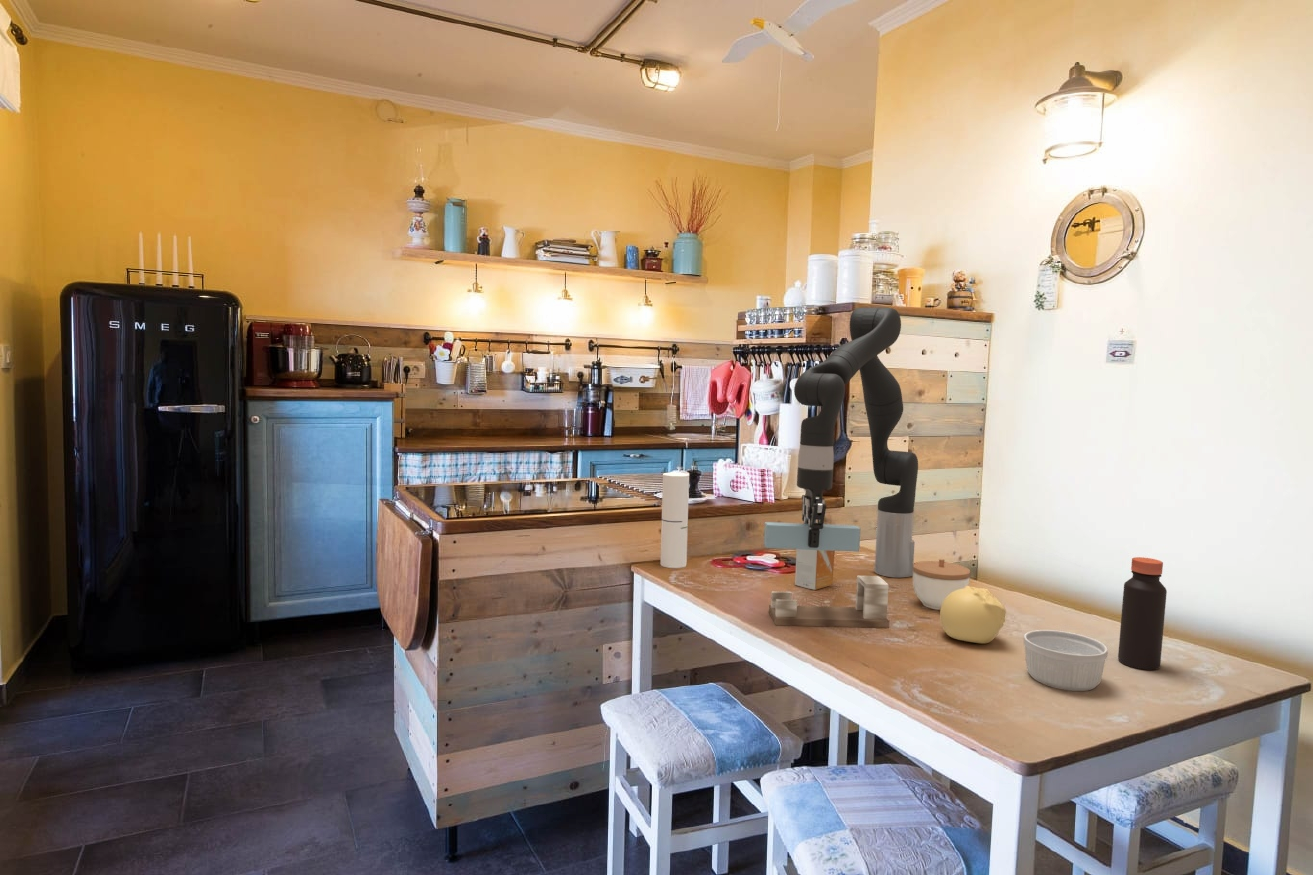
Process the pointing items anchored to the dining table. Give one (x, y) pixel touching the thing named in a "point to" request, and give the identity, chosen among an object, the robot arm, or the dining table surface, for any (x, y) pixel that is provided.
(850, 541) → the slat
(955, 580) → the lidded bowl
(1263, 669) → the dining table surface
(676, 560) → the cylindrical container
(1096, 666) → the ramekin
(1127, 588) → the bottle
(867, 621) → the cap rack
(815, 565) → the small box
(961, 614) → the yellow clay lump
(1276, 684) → the dining table surface
